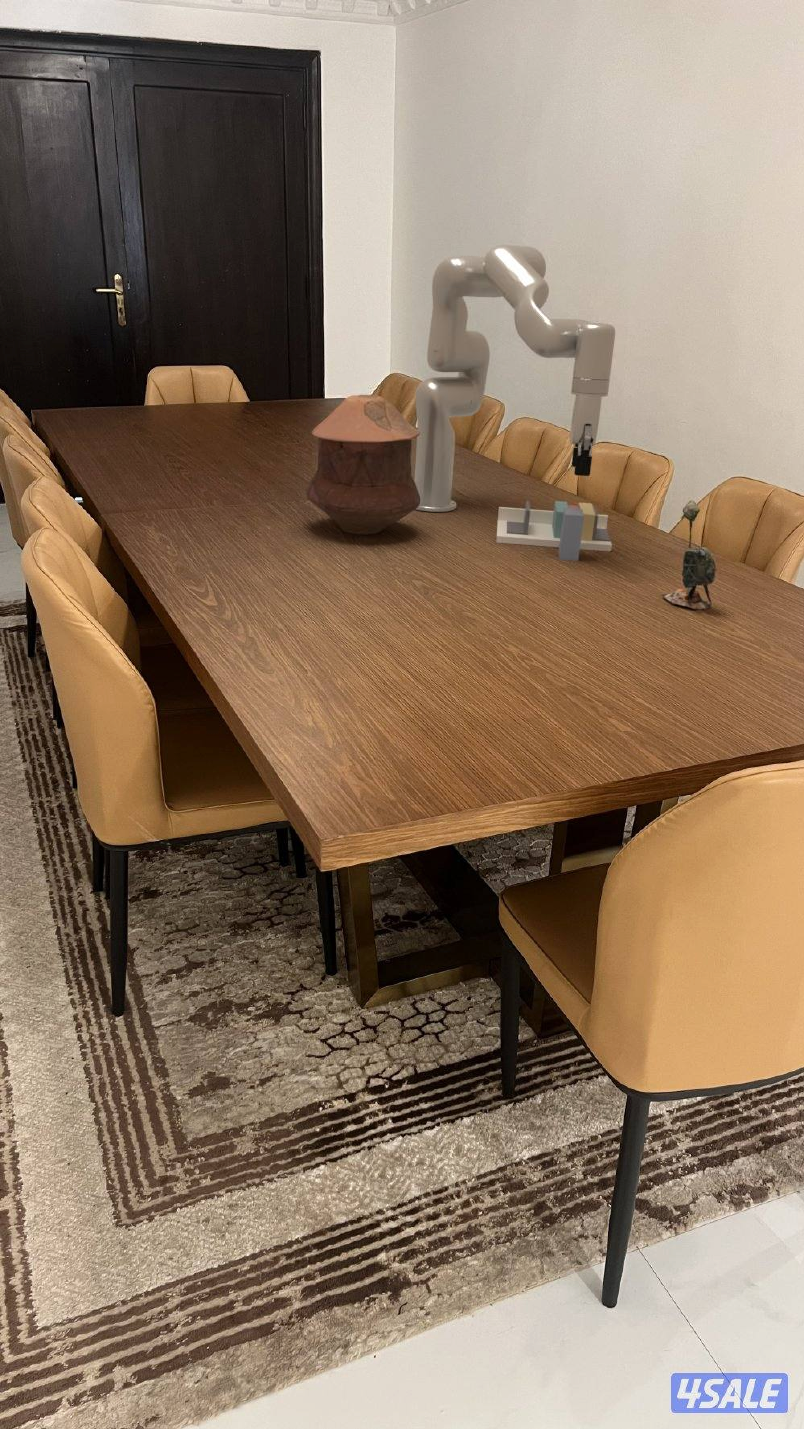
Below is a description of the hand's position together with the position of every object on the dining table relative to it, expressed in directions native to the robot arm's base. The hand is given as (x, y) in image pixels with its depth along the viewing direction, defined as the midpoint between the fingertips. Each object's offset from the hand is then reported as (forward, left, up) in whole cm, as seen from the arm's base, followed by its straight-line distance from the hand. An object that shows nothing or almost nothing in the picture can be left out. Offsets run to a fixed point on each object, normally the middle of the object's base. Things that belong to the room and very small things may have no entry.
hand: (580, 471), depth 216 cm
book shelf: (-3, +15, -19) cm, 24 cm away
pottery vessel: (-47, +8, -19) cm, 52 cm away
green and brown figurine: (+22, -28, -19) cm, 40 cm away
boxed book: (0, 0, -19) cm, 19 cm away
